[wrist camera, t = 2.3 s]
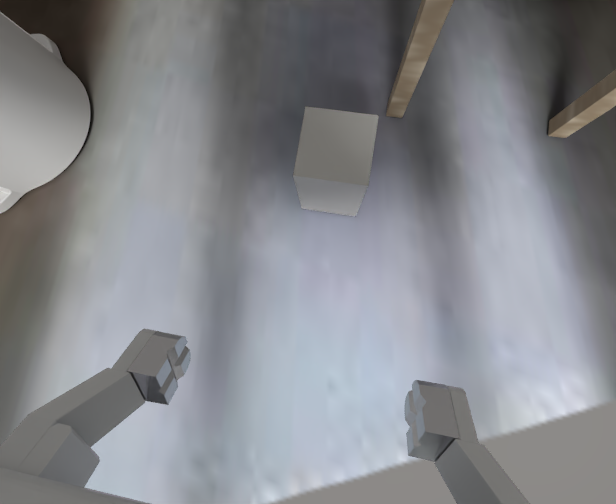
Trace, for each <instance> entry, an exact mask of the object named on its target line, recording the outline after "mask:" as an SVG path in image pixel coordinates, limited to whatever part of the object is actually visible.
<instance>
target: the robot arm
mask: <svg viewBox="0 0 616 504" xmlns="http://www.w3.org/2000/svg"><path fill="white" fill-rule="evenodd" d="M89 125H90V103H89V98H88V95H87V92H86V90H85V88H84V86H83V84H82V83H81V81H80V80H79V78H78V77H77V76H76V75H75V74H74V73H73V72H72V71H71V70H70V69H69V68H68V67H67V66H66V65H65V64H64V63H63V61H62V57H61V55H60V52H59V49H58V47H57V45H56V44H55V43H54V42H53V41H52V40H50V39H49V38H48V37H46V36H45V35H43V34H28V33H27V32H26V31H25V30H23V29H22V28H21V27H19V26H18V25H17V24H16V23H14V22H13V21H12V20H10V19H9V18H8V17H7V16H5V15H4V14H3V13H1V12H0V213H2V212H5V211H6V210H8V209H9V208H10V207H11V206H13V205H14V204H15V203H16V202H17V201H18V200H19V199H20V198H21V197H22V196H23V195H24V194H25V193H27V192H28V191H30V190H32V189H34V188H36V187H39V186H41V185H43V184H45V183H47V182H49V181H50V180H52V179H54V178H55V177H56V176H58V175H59V174H60V173H62V172H63V171H64V170H65V169H66V168H67V167H68V166H69V165H70V164H71V162H72V161H73V160H74V159H75V157H76V156H77V154H78V153H79V151H80V150H81V148H82V146H83V144H84V142H85V139H86V136H87V133H88V129H89ZM186 344H187V340H186V337H185V336H179V335H174V334H169V333H163V332H159V331H154V330H149V329H143V330H142V331H140V332H139V333H138V334H137V336H136V337H135V338H134V340H133V341H132V342H131V343H130V345H129V346H128V347H127V349H126V350H125V351H124V353H123V354H122V355H121V357H120V358H119V359H118V361H117V362H116V363H115V365H114V366H113V367H112V369H110V368H107V369H105V370H103V371H102V372H100V373H98V374H96V375H95V376H93V377H91V378H90V379H88V380H86V381H85V382H83V383H81V384H79V385H78V386H76V387H74V388H73V389H71V390H69V391H68V392H66V393H64V394H62V395H61V396H59V397H57V398H56V399H54V400H52V401H51V402H49V403H47V404H45V405H44V406H42V407H40V408H39V409H37V410H35V411H34V412H32V413H30V414H28V415H27V417H26V418H25V419H24V420H23V421H22V422H21V423H20V424H19V426H18V427H17V428H16V429H15V430H14V431H13V432H12V434H11V435H10V436H9V437H8V438H7V439H6V440H5V441H4V443H3V444H2V445H1V446H0V504H150V503H145V502H141V501H137V500H133V499H129V498H125V497H121V496H117V495H113V494H108V493H104V492H100V491H96V490H92V489H88V488H84V486H85V485H86V483H87V482H88V480H89V478H90V477H91V475H92V473H93V472H94V470H95V468H96V467H97V465H98V463H99V462H100V461H99V456H98V455H97V454H96V453H95V452H94V451H93V450H92V449H91V448H90V447H91V446H92V445H94V444H95V443H96V442H97V441H99V440H100V439H101V438H102V437H103V436H105V435H106V434H107V433H108V432H110V431H111V430H112V429H113V428H114V427H116V426H117V425H118V424H119V423H121V422H122V421H123V420H124V419H125V418H127V417H128V416H129V415H130V414H132V413H133V412H134V411H135V410H136V409H138V408H139V407H140V406H141V405H143V404H144V403H145V401H150V402H155V403H161V404H166V405H168V404H169V403H170V401H171V399H172V397H173V395H174V393H175V391H176V390H177V388H178V384H177V380H178V379H179V378H181V377H182V376H184V375H185V373H186V371H187V369H188V366H189V363H190V357H191V353H190V350H189V349H188V348H187V347H186ZM405 420H406V422H407V423H408V425H409V426H410V428H409V430H408V432H407V433H406V436H407V446H408V456H412V457H416V458H421V459H425V460H429V461H433V462H435V465H436V467H437V468H438V470H439V472H440V474H441V476H442V478H443V479H444V481H445V483H446V485H447V487H448V488H449V490H450V492H451V494H452V495H453V497H454V499H455V501H456V503H457V504H530V503H529V502H528V500H527V499H526V498H525V497H524V495H523V494H522V493H521V492H520V490H519V489H518V488H517V486H516V485H515V484H514V483H513V481H512V480H511V479H510V478H509V476H508V475H507V474H506V473H505V471H504V470H503V469H502V467H501V466H500V465H499V464H498V462H497V461H496V460H495V458H494V457H493V456H492V455H491V453H490V452H489V451H488V449H487V448H486V447H485V446H484V445H483V444H479V442H478V439H477V435H476V431H475V427H474V423H473V419H472V416H471V412H470V408H469V404H468V400H467V397H466V393H465V391H464V390H463V389H462V388H458V387H452V386H447V385H443V384H437V383H431V382H425V381H419V380H415V381H414V382H413V384H412V391H409V392H408V394H407V396H406V400H405Z"/></svg>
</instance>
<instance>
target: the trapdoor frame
mask: <svg viewBox="0 0 616 504" xmlns="http://www.w3.org/2000/svg"><path fill="white" fill-rule="evenodd" d="M453 1H454V0H422V1H421V4H420V7H419V10H418V13H417V16H416V19H415V22H414V25H413V28H412V31H411V34H410V37H409V40H408V43H407V46H406V49H405V52H404V55H403V58H402V61H401V64H400V67H399V70H398V73H397V76H396V80H395V83H394V86H393V89H392V92H391V95H390V98H389V101H388V107H387V113H386V116H391V117H399V118H402V117H403V115H404V112H405V110H406V108H407V106H408V103H409V101H410V99H411V97H412V94H413V92H414V90H415V88H416V85H417V83H418V81H419V78H420V76H421V74H422V72H423V69H424V67H425V65H426V63H427V60H428V58H429V56H430V54H431V51H432V49H433V47H434V44H435V42H436V40H437V38H438V35H439V33H440V31H441V29H442V26H443V24H444V22H445V20H446V17H447V15H448V13H449V10H450V8H451V6H452V4H453ZM614 106H616V70H615V71H613V72H612V73H611V74H609V75H608V76H607V77H605V78H604V79H603V80H601V81H600V82H599V83H598V84H596V85H595V86H594V87H592V88H591V89H590V90H588V91H587V92H586V93H585V94H583V95H582V96H581V97H579V98H578V99H577V100H575V101H574V102H573V103H572V104H570V105H569V106H568V107H566V108H565V109H564V110H562V111H561V112H560V113H559V114H557V115H556V116H555V117H553V118H552V119H551V120H549V132H548V136H554V137H562V138H566V137H568V136H569V135H571V134H572V133H574V132H575V131H577V130H579V129H580V128H582V127H583V126H585V125H586V124H588V123H589V122H591V121H593V120H594V119H596V118H597V117H599V116H600V115H602V114H603V113H605V112H606V111H608V110H610V109H611V108H613V107H614Z"/></svg>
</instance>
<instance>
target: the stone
mask: <svg viewBox="0 0 616 504" xmlns="http://www.w3.org/2000/svg"><path fill="white" fill-rule="evenodd" d="M378 117H379V115H372V114H364V113H356V112H348V111H339V110H331V109H323V108H315V107H307V106H306V107H305V112H304V118H303V123H302V129H301V134H300V140H299V145H298V151H297V156H296V162H295V167H294V173H293V177H294V181H295V185H296V189H297V192H298V196H299V200H300V204H301V207H302V209H307V210H314V211H321V212H328V213H334V214H341V215H348V216H354V217H356V215H357V213H358V210H359V208H360V205H361V203H362V200H363V198H364V195H365V193H366V191H367V188H368V185H369V178H370V171H371V164H372V158H373V151H374V144H375V137H376V131H377V124H378Z"/></svg>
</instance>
